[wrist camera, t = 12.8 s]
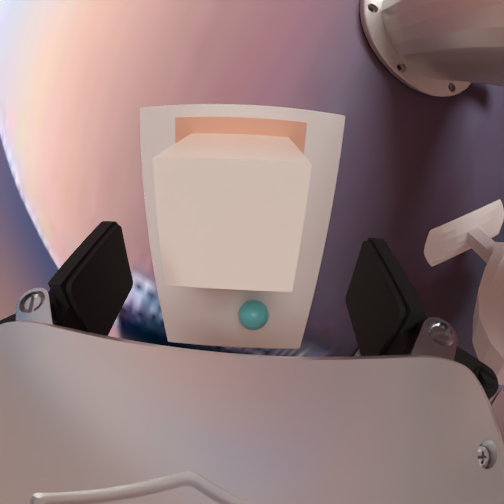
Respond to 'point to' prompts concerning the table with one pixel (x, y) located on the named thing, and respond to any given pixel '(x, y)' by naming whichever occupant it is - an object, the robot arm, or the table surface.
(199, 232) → the cream rectangular block
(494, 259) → the heart sculpture
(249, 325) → the marble
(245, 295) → the mat
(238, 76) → the table surface
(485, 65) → the robot arm
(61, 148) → the table surface
